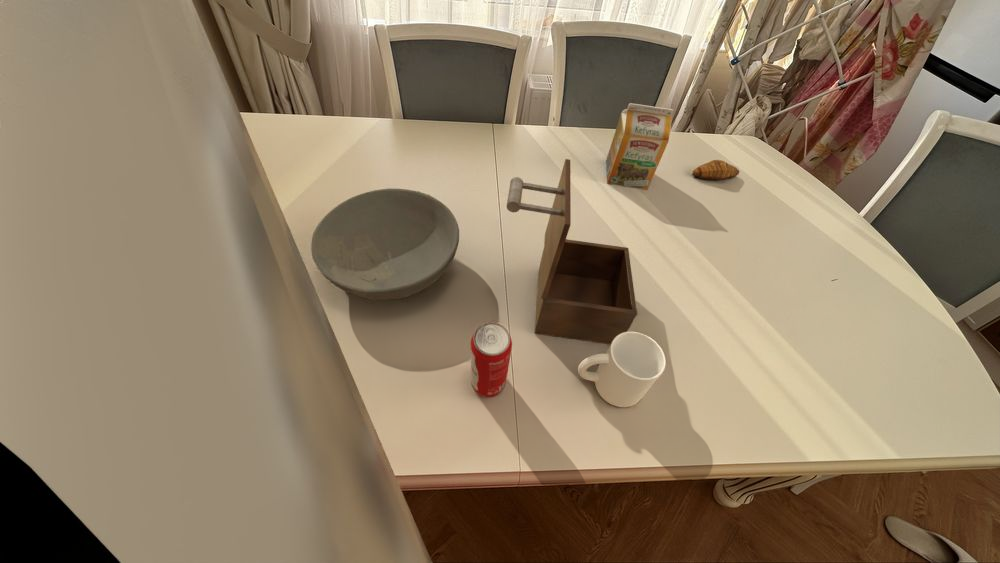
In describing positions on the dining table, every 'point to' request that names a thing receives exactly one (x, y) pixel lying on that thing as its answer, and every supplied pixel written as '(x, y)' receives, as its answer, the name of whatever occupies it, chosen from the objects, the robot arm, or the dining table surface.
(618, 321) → the bin
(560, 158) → the dining table surface
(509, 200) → the bin lid
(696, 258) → the dining table surface
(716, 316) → the dining table surface
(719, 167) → the croissant
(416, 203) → the bowl
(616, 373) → the mug
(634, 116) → the milk carton
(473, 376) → the beverage can
